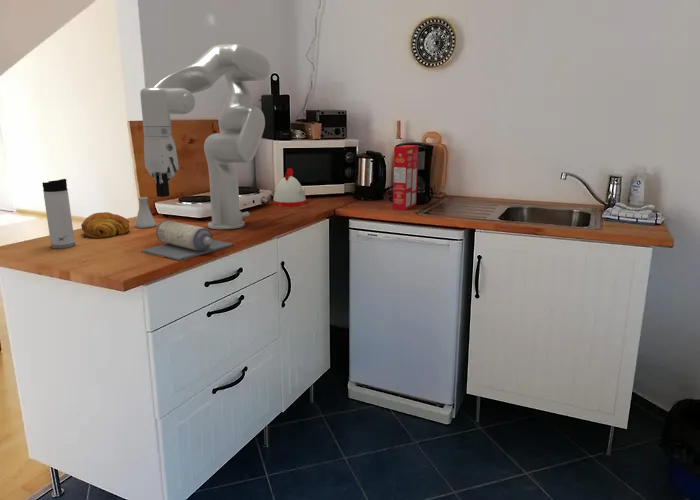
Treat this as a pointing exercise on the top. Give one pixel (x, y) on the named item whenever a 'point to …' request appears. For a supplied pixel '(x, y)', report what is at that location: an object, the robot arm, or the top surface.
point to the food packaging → (405, 177)
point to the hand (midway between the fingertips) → (163, 196)
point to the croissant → (105, 225)
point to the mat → (184, 250)
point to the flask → (144, 215)
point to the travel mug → (58, 214)
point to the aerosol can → (184, 235)
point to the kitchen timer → (289, 191)
